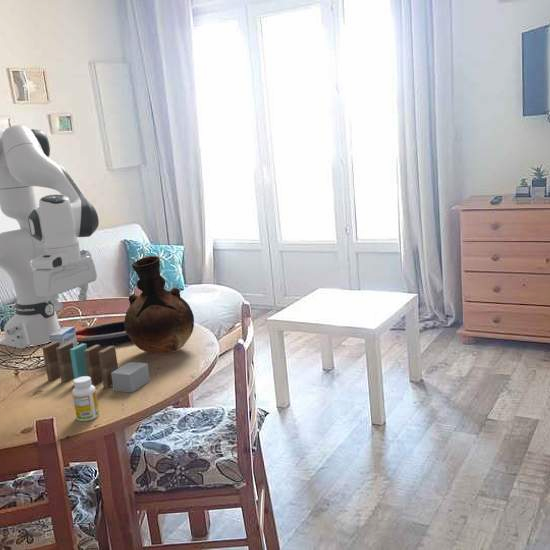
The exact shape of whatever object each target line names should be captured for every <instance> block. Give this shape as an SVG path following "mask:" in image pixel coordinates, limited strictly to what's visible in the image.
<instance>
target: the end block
mask: <svg viewBox="0 0 550 550" xmlns="http://www.w3.org/2000/svg"><path fill="white" fill-rule="evenodd" d="M111 376H112V383H113V385H112V387H113V389H112V390H113V391H115V392H121V393H122V392H123V393H133V392H136V391H137V390H138V389H140V388H141V387H143V386H144V385H147V383H150V382H151V380H150V372H149V365H148V363H144V362H142V363H141V362H132V361H130V362H127V363H126V364H124V365H122V366H120V367H118V369H117V370H115V371H113V372H112V373H111ZM142 385H143V386H142Z"/></svg>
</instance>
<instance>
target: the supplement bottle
mask: <svg viewBox="0 0 550 550" xmlns="http://www.w3.org/2000/svg"><path fill="white" fill-rule="evenodd" d="M73 386H74V388H73V390H72V398H73V399H72V400H73V405H74V411H75V416H76V419H77V421H80V422H89V421H91V420H95V419H96V418H98V417H99V415H100V409H99V408H100V407H99V403H98V395H97V389H96V387H95V385H94V386H93V385H91V378H90V377H89V376H83V377H79V378H76V379H73Z"/></svg>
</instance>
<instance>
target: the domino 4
mask: <svg viewBox="0 0 550 550" xmlns="http://www.w3.org/2000/svg"><path fill="white" fill-rule="evenodd" d="M101 350H102V346H101V345H94V346H92V347H87V349H86V350H84V355H85V362H86V368H87V374H88V376H89V377H90V378H91V385H93V386H94V387H95V386H96V385H97V384H99V383H101V382H103V379H102V373H101V366H100V360H99V353H98V352H99V351H101Z"/></svg>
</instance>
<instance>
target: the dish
mask: <svg viewBox="0 0 550 550" xmlns="http://www.w3.org/2000/svg"><path fill="white" fill-rule="evenodd" d="M124 321H125V320H122V321H114V322H106V323H102V324H101V323H100V324H96V325H91V326H86V327H82V328H79V329H75V334H76V340H77V342H79V344H78V345H80V344H87V348H90V347H92V346H94V345H101V347H104V346H105V347H106V346H114V345H118V344H124V343H129V342H132V340H131V339H130V338H129V336H128V335H127V333H126V330H125V327H124ZM78 345H77V346H78Z"/></svg>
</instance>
